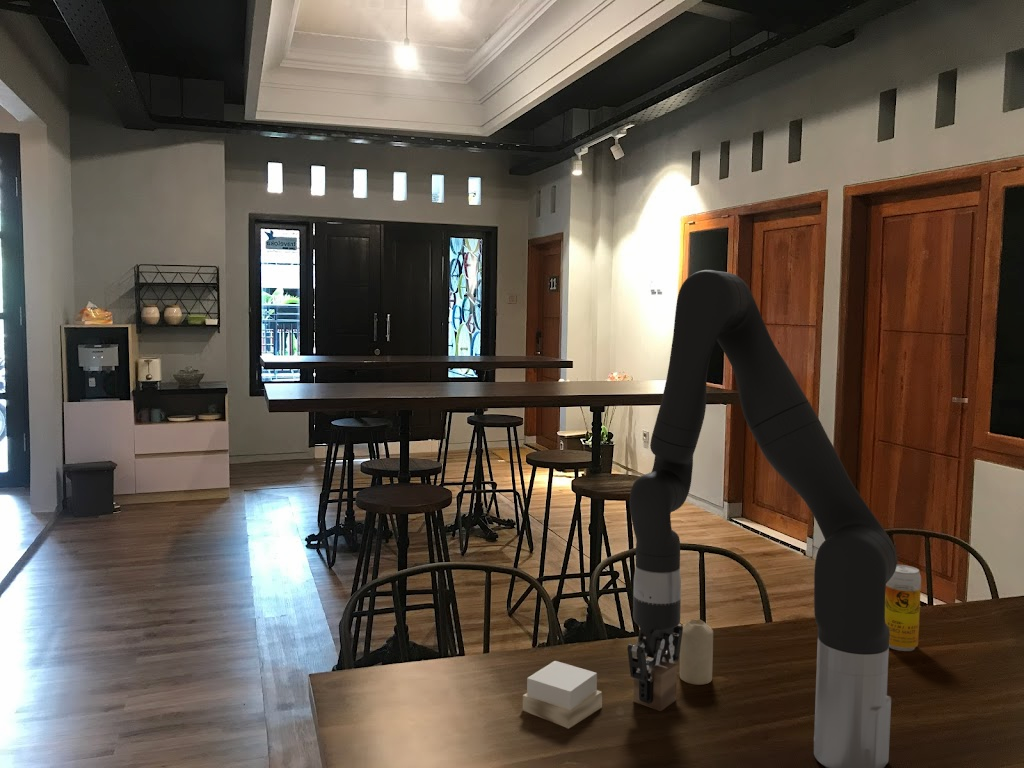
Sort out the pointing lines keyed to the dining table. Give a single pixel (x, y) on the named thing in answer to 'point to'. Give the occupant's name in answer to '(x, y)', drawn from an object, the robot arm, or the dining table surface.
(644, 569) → the robot arm
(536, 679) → the slab upper
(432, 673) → the dining table surface
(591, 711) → the slab lower
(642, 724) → the dining table surface
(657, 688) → the walnut block
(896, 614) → the beer can
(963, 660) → the dining table surface
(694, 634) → the candle
